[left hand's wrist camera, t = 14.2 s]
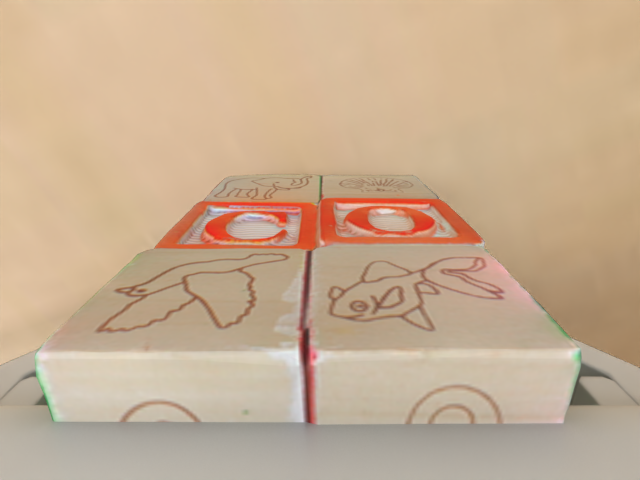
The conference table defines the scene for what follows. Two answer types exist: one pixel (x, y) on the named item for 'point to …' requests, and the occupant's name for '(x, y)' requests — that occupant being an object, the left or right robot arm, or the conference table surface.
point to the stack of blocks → (312, 317)
